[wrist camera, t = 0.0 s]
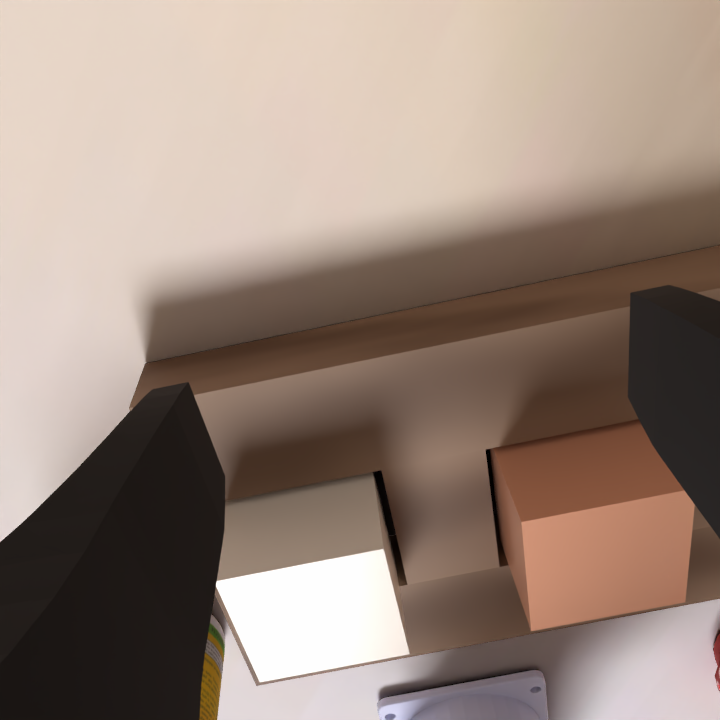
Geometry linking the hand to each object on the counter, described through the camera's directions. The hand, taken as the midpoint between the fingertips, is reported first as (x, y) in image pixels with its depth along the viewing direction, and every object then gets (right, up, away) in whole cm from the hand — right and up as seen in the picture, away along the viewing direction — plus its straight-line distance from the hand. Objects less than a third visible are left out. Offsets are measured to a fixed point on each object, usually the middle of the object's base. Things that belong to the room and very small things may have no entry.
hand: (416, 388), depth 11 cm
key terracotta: (+6, -4, +13) cm, 15 cm away
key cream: (-2, -5, +13) cm, 15 cm away
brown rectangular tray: (+6, -3, +14) cm, 16 cm away
